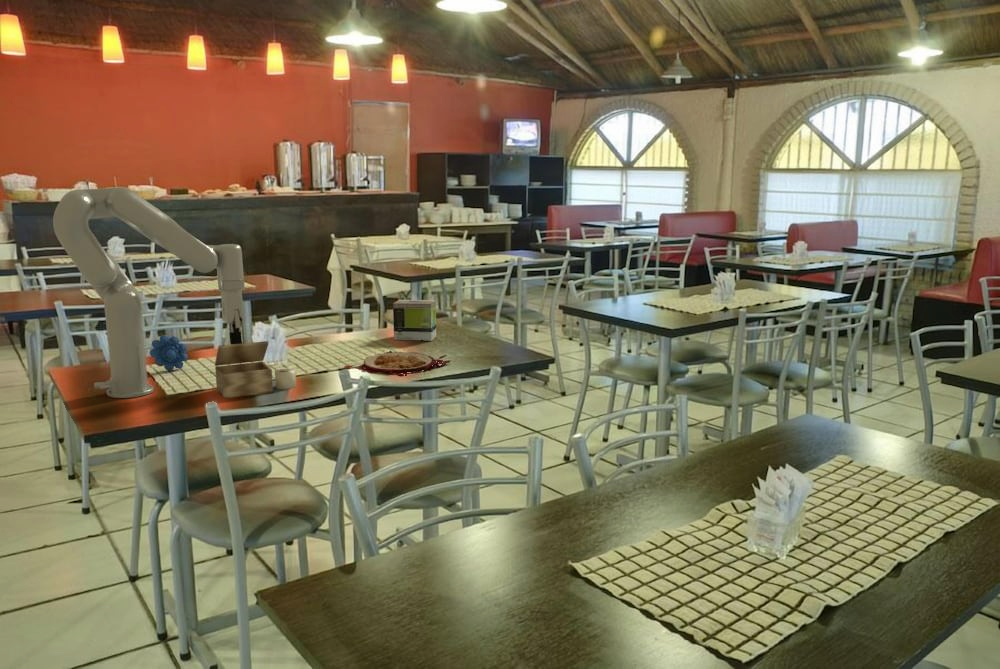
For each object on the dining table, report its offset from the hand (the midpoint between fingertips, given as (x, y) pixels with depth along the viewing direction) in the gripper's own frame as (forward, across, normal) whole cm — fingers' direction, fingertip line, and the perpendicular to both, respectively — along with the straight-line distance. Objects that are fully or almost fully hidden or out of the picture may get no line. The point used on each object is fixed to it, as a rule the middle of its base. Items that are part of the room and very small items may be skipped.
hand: (236, 344), depth 251 cm
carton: (+12, +12, -1) cm, 17 cm away
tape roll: (+12, +12, +11) cm, 21 cm away
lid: (+1, +10, -1) cm, 11 cm away
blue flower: (+12, -24, -17) cm, 31 cm away
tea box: (+14, -36, +74) cm, 83 cm away
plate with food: (+14, +3, +51) cm, 53 cm away
